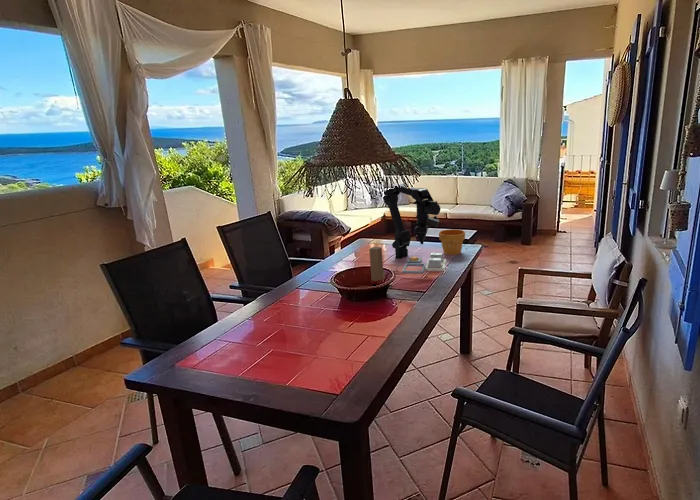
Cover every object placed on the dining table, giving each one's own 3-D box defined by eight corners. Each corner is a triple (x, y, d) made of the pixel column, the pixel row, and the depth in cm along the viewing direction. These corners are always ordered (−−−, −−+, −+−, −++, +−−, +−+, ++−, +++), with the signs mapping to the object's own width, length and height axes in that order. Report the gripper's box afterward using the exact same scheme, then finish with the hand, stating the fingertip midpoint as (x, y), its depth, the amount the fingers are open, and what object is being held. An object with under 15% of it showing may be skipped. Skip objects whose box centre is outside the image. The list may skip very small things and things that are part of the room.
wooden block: (392, 284, 204) (390, 247, 199) (388, 287, 200) (386, 250, 195) (375, 282, 208) (373, 246, 204) (371, 285, 205) (368, 248, 200)
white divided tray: (424, 272, 216) (424, 268, 216) (428, 262, 232) (427, 258, 231) (444, 272, 213) (444, 268, 213) (446, 262, 229) (446, 258, 228)
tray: (402, 274, 216) (402, 271, 215) (406, 266, 228) (406, 263, 227) (422, 274, 213) (422, 271, 212) (425, 266, 225) (425, 263, 225)
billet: (428, 269, 217) (428, 260, 216) (429, 267, 221) (429, 257, 219) (440, 269, 215) (440, 260, 214) (441, 267, 219) (441, 257, 218)
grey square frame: (407, 265, 229) (406, 261, 229) (408, 261, 236) (408, 257, 235) (420, 265, 227) (420, 261, 227) (421, 261, 234) (421, 257, 233)
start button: (410, 263, 230) (410, 258, 229) (411, 261, 233) (411, 256, 233) (417, 263, 229) (417, 258, 228) (418, 261, 232) (417, 256, 232)
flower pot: (459, 259, 233) (458, 236, 230) (435, 256, 242) (434, 234, 238) (469, 252, 244) (469, 230, 240) (446, 250, 252) (445, 228, 249)
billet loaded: (430, 263, 226) (430, 254, 224) (431, 261, 229) (431, 252, 228) (442, 264, 224) (442, 254, 223) (442, 261, 228) (442, 252, 226)
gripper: (436, 216, 213) (437, 246, 217) (439, 209, 230) (440, 237, 234) (413, 216, 216) (415, 246, 220) (418, 209, 233) (419, 237, 237)
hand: (423, 241), depth 228 cm, fingers open, 9 cm apart
